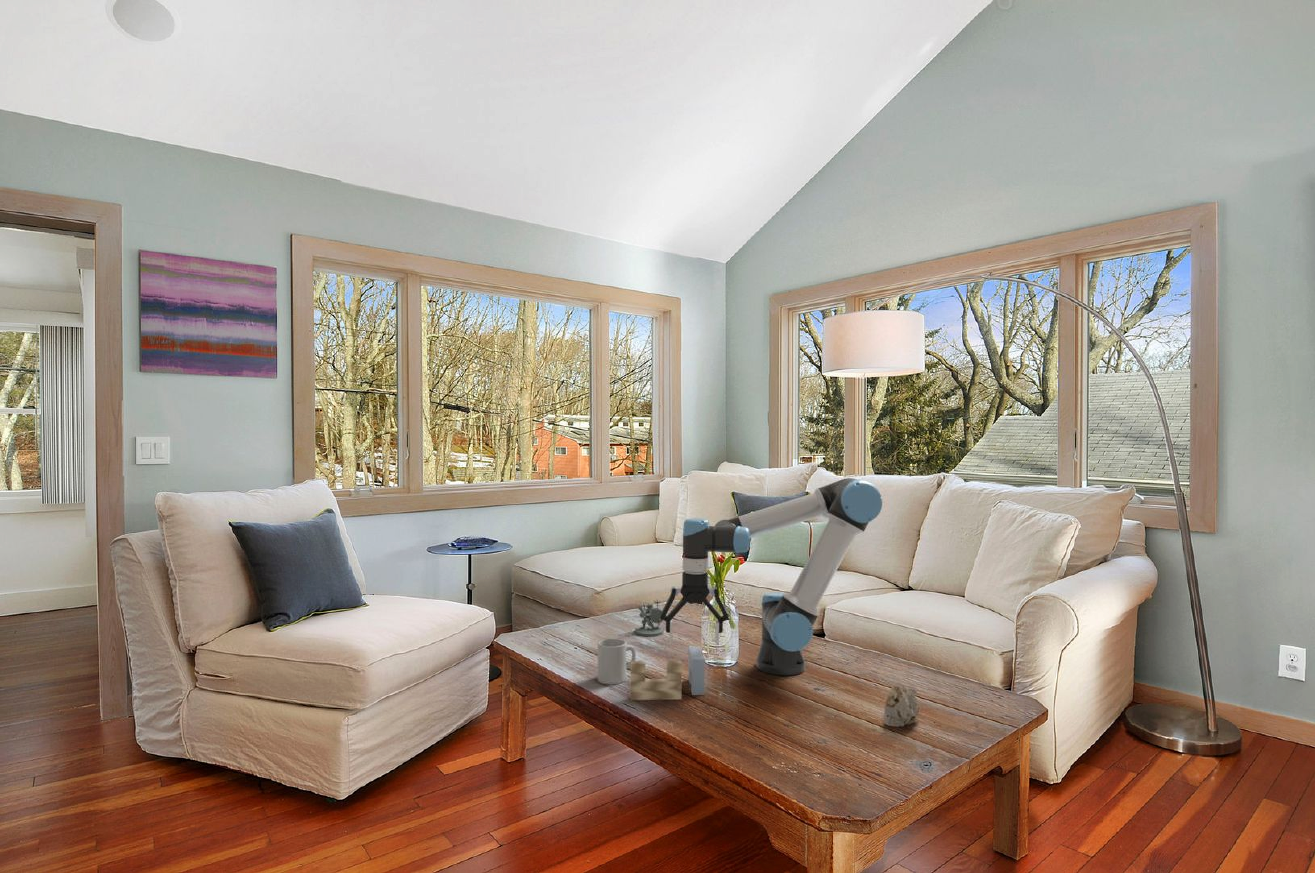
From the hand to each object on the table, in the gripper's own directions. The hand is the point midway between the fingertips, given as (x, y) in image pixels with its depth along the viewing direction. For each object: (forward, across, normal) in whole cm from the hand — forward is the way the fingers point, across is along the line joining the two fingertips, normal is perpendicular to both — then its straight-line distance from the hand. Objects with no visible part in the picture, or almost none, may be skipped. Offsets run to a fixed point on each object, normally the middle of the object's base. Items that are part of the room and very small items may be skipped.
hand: (693, 643), depth 203 cm
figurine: (+12, +11, -52) cm, 55 cm away
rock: (+11, -52, +29) cm, 60 cm away
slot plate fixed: (+12, +11, +12) cm, 20 cm away
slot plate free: (+11, -1, +4) cm, 12 cm away
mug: (+12, +22, -4) cm, 26 cm away
